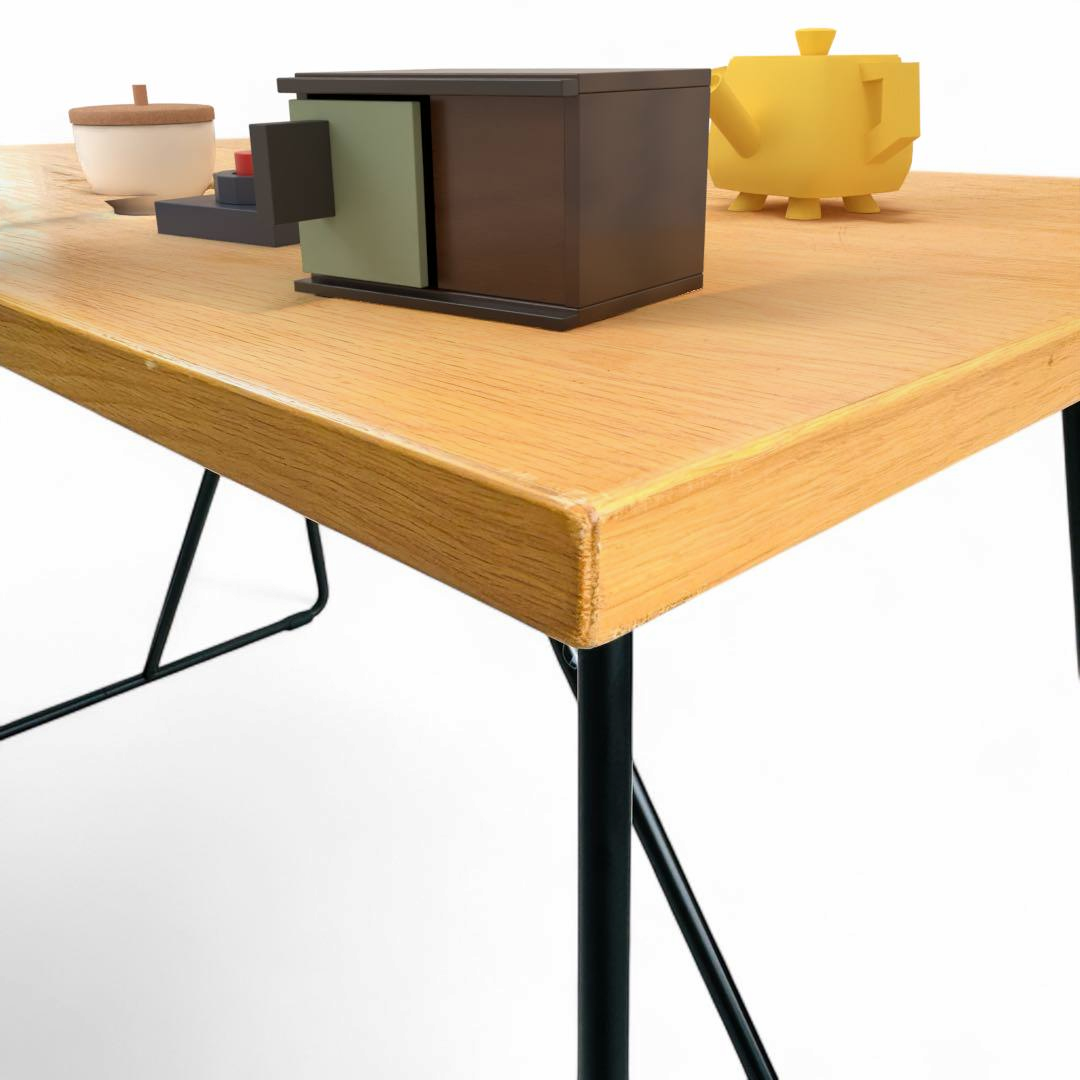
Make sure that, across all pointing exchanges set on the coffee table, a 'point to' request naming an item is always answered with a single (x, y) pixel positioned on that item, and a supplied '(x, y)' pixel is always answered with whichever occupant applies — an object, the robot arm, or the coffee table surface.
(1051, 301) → the coffee table surface
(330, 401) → the coffee table surface
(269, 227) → the control block
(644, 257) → the cupboard
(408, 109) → the sliding door
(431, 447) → the coffee table surface
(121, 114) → the trinket box
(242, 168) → the button
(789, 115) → the teapot
